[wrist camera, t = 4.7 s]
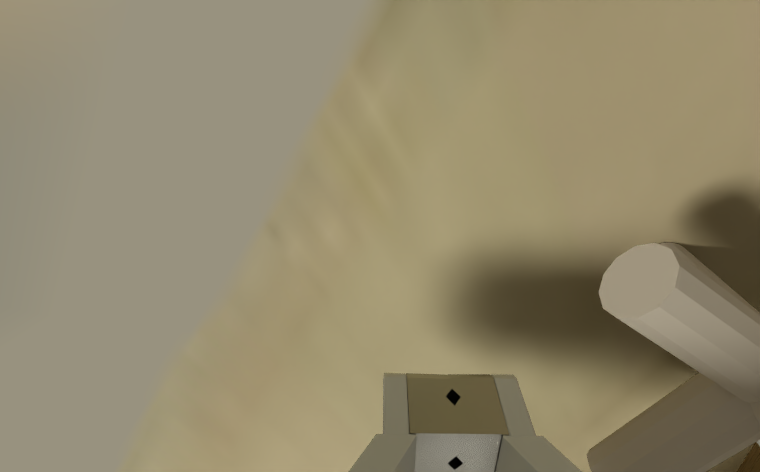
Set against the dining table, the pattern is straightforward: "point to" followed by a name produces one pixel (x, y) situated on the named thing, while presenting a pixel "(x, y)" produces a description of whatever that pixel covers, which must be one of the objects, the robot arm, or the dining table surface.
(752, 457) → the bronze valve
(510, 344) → the dining table surface
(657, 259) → the beige crossed rod piece
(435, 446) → the robot arm
